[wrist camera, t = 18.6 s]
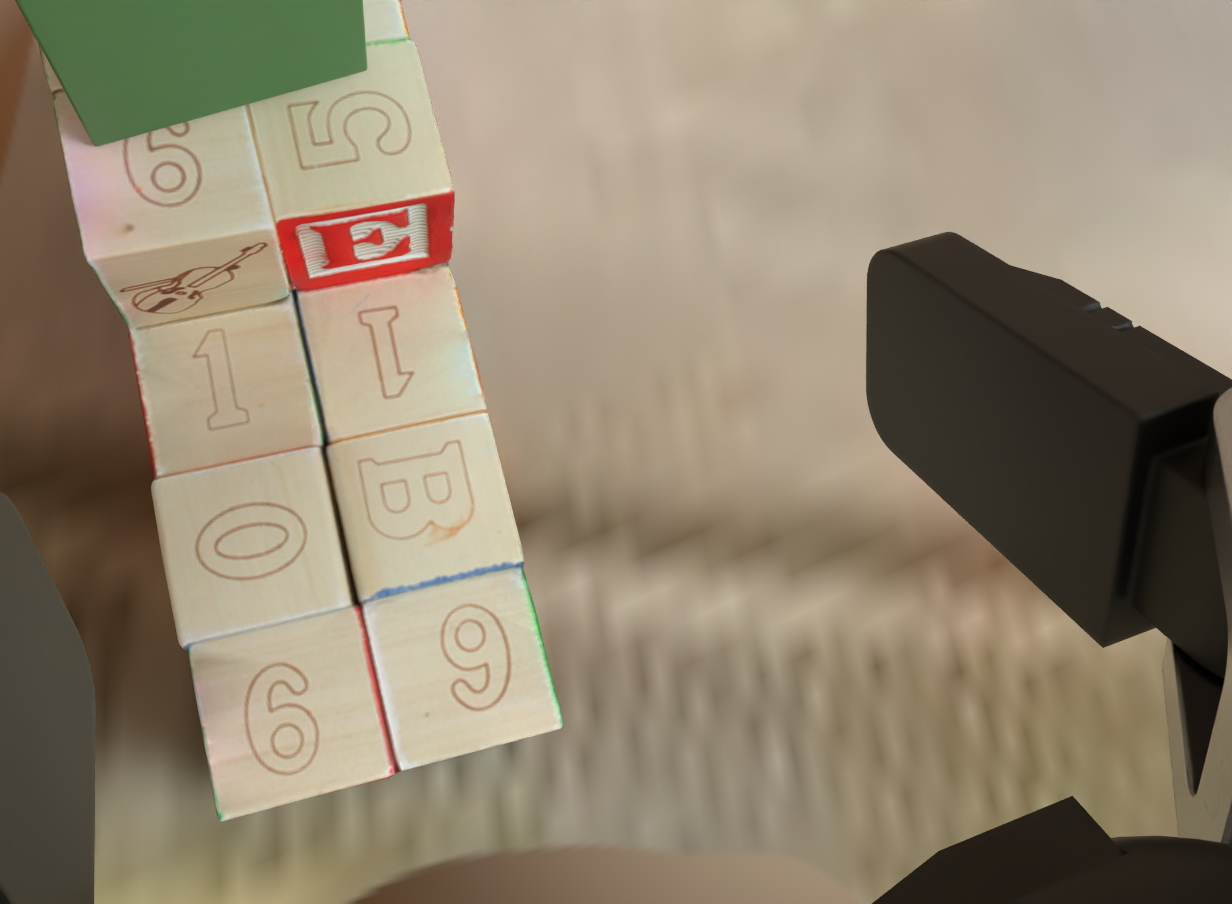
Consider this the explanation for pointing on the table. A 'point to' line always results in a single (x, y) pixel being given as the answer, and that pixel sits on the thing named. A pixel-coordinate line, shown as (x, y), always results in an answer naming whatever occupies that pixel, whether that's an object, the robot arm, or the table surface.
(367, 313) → the stack of blocks
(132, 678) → the table surface
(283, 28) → the green block
